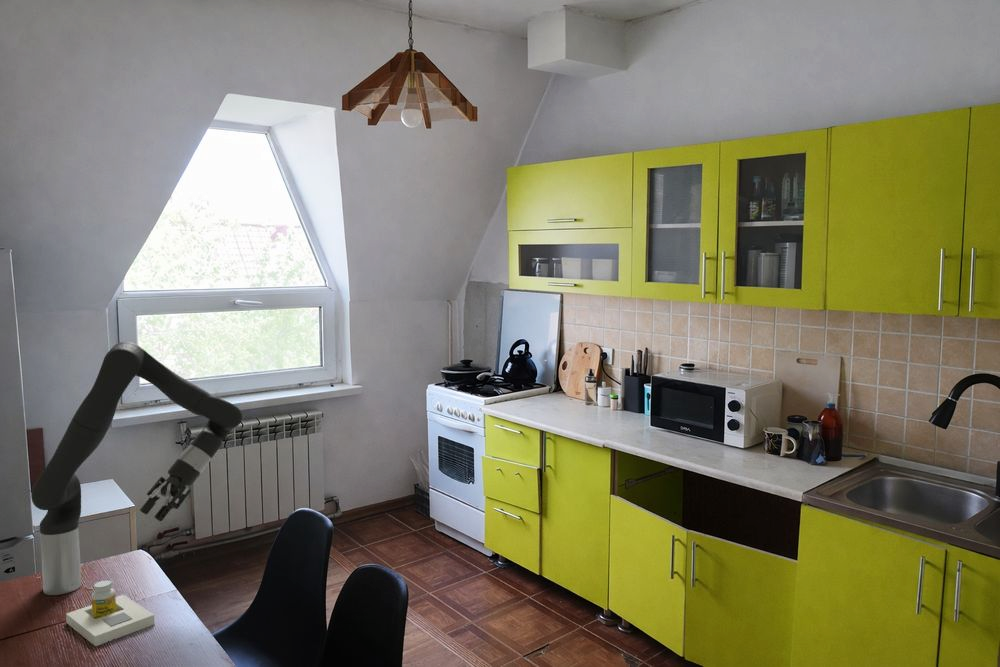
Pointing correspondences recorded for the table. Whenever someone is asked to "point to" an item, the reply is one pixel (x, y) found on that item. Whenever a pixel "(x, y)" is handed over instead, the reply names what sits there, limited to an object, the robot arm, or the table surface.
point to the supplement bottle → (103, 599)
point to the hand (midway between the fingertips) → (150, 516)
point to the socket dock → (110, 621)
